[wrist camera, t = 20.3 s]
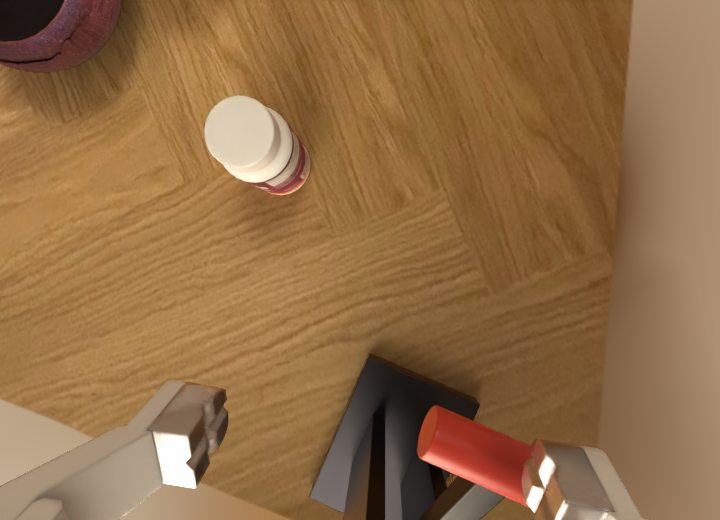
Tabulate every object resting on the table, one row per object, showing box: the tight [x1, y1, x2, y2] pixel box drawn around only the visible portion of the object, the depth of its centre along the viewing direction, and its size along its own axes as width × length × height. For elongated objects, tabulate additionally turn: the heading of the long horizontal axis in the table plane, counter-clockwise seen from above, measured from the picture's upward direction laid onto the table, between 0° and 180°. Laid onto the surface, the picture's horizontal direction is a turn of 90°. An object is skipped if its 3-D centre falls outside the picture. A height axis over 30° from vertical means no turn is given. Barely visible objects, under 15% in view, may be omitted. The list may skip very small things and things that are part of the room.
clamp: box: [309, 353, 480, 520], centre depth 22 cm, size 12×9×13 cm
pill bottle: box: [204, 96, 311, 195], centre depth 24 cm, size 5×5×8 cm
